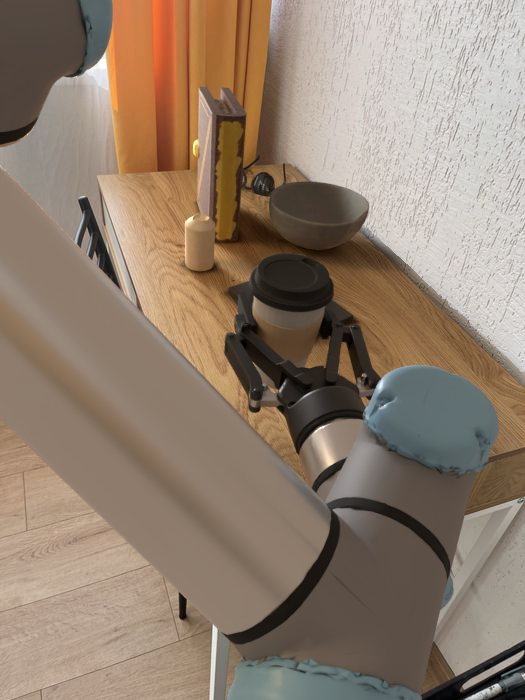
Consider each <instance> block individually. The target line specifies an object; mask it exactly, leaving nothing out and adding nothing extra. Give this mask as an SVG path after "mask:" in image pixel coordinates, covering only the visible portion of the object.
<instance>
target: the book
mask: <svg viewBox="0 0 525 700" xmlns="http://www.w3.org/2000/svg"><path fill="white" fill-rule="evenodd" d="M247 114H248V113H247V112H246V111H245V108H243V106H242V105H241V103H240V102H239V100H238V99H237V97H236V96H235V94H234V92H233V91H232V89H231V87H220V97H219V98H215V97H214V96H213V94H212V93H211V91H210V89H209V87H208V86H198V119H197V121H198V123H197V124H198V127H197V129H198V130H197V132H198V134H197V139H196V140H194V142H193V145H192V153H193V155H194V156H195V158H197V187H196V188H197V192H196V193H197V195H196V196H197V197H196V198H197V199H196V200H197V201H196V205H197V206H198V209H199V210H198V211H199V213H203V214H204V215H206V216H207V217H209V218H210V219H212V220H213V221H214V223H215V243H232V242H236V241H237V240H238V239H239V230H240V229H239V228H240V216H241V215H240V213H241V197H242V187H243V186H242V185H243V171H244V156H245V153H244V152H245V144H246V143H245V142H246V127H247Z"/></svg>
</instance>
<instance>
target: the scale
mask: <svg viewBox="0 0 525 700" xmlns="http://www.w3.org/2000/svg"><path fill="white" fill-rule="evenodd" d="M248 282H249V280H247V281H244V282H241V283H238V284H235V285H232V286H229V287H228V288H227V294H228V295H229V296H231V297H232V298H233V299H234V300H236V302H238V295H239V293H241V292H245V294H246V297H247V300H248V303H249V305H250V308H251V311H252V314H253V301H254V296H253V294H252V293H251V291H250V289H249V285H248ZM325 308H326V309H332V310H333V311H334V313H335V315H336V316H337V318H338V320H339V322H341V323H343V325H345V324H348V323H350V322H352V321H353V319H354V314H353V313H351V312H350V311H348V310H347V309H346V308H344V307H343V306H341V304H338V303H337V302H336V301H334V300H333V299H332V300H331V302H330V303H329V304H327V305H326V306H325ZM318 336H320V334H319V332H318V334H317V337H318Z"/></svg>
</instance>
